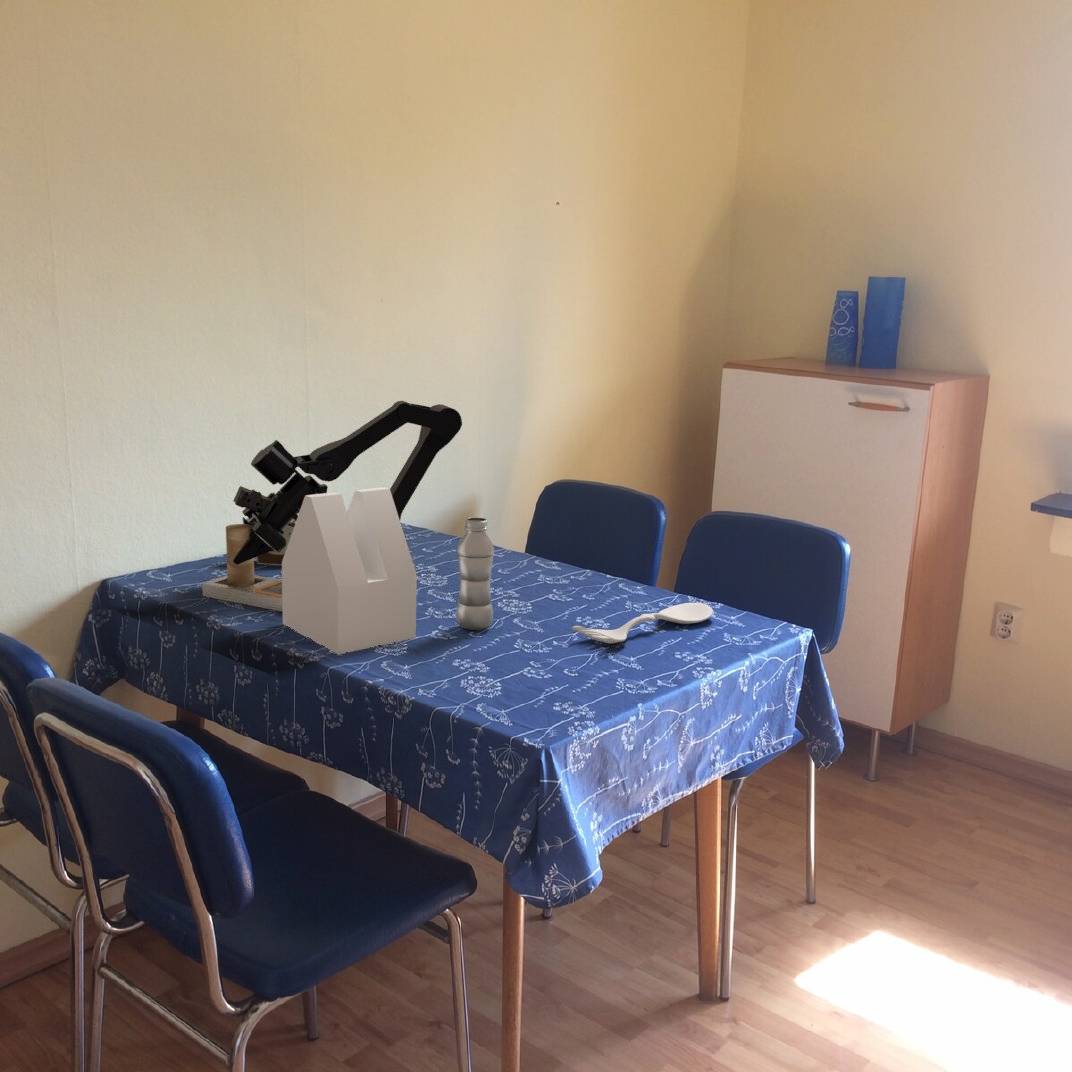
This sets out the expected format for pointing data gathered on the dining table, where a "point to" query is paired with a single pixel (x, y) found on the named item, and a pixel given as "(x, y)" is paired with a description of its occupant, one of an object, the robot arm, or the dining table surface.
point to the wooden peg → (234, 542)
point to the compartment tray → (248, 592)
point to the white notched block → (349, 573)
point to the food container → (274, 556)
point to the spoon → (676, 614)
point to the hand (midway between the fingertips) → (232, 559)
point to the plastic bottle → (475, 576)
